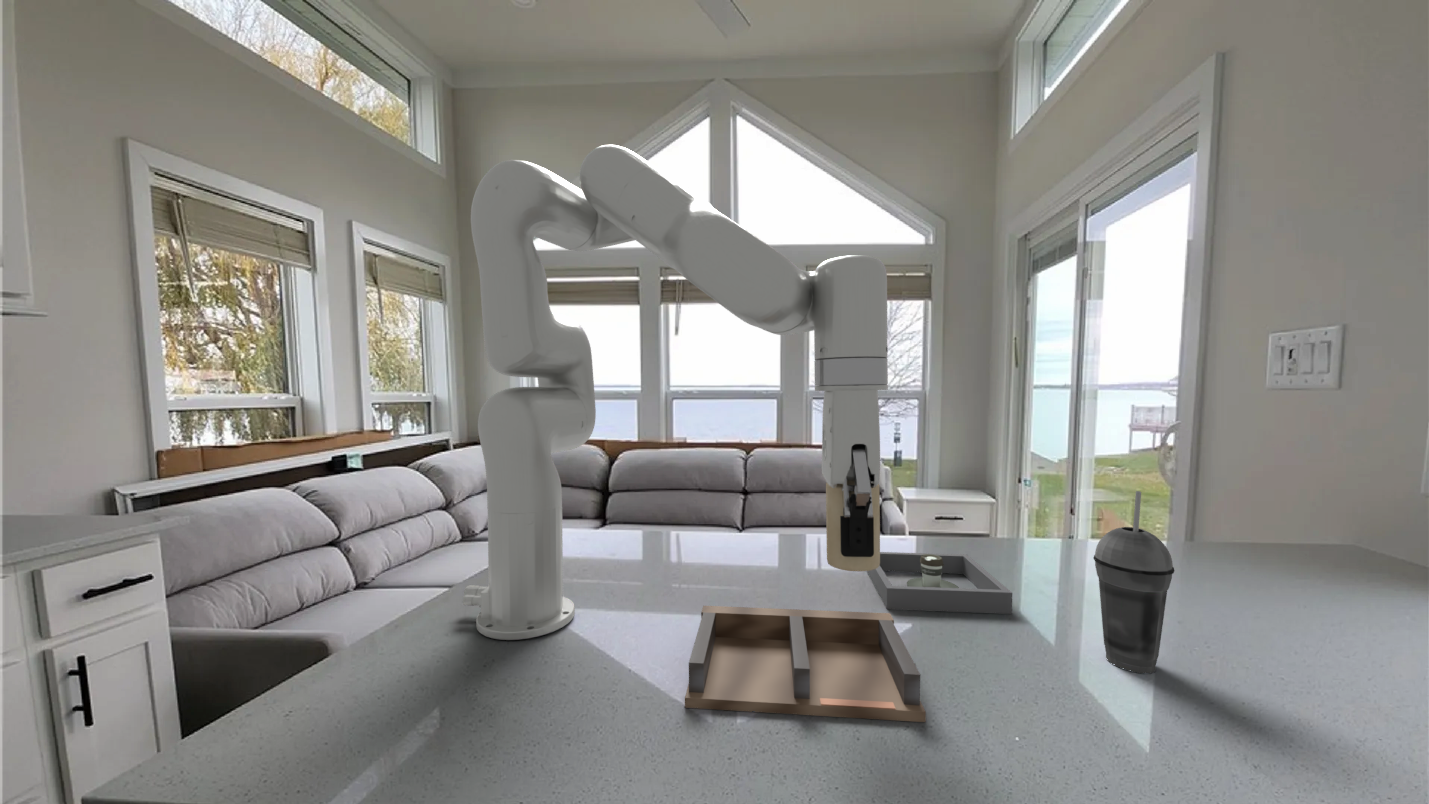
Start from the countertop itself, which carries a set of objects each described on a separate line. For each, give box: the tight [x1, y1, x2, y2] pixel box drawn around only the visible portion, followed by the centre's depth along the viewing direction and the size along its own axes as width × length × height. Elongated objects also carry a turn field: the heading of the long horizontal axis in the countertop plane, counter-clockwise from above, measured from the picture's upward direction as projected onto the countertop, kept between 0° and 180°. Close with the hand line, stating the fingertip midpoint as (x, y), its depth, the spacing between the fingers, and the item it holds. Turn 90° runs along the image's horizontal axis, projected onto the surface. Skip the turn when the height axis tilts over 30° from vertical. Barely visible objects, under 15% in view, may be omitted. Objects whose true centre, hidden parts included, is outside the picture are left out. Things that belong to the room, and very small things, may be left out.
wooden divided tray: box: [684, 605, 927, 723], centre depth 59 cm, size 23×15×4 cm, turn 84°
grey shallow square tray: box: [866, 551, 1013, 615], centre depth 84 cm, size 17×17×3 cm
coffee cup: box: [906, 553, 960, 588], centre depth 83 cm, size 12×12×5 cm
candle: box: [825, 480, 881, 572], centre depth 57 cm, size 6×6×10 cm
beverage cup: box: [1093, 490, 1175, 674], centre depth 61 cm, size 7×7×20 cm
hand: (852, 544), depth 57 cm, fingers closed on candle, 5 cm apart
